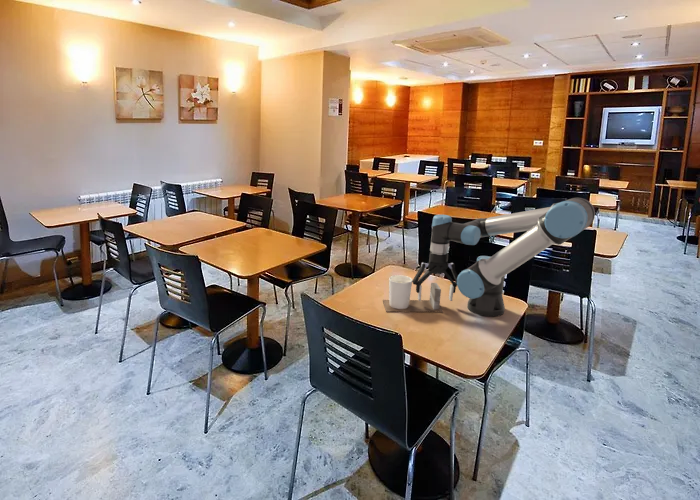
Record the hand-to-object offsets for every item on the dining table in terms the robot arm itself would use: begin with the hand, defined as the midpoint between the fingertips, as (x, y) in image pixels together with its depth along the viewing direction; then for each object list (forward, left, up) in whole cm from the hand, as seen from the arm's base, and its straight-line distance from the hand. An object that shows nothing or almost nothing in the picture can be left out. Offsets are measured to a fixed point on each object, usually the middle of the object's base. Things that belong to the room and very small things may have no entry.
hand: (434, 299), depth 189 cm
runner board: (+9, +4, -3) cm, 10 cm away
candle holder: (+14, +6, -3) cm, 16 cm away
